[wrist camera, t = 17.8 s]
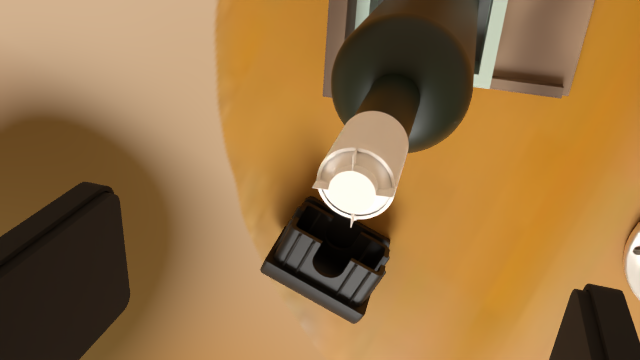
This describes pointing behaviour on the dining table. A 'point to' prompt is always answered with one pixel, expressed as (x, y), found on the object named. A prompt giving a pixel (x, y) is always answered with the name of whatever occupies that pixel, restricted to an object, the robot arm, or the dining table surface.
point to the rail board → (505, 44)
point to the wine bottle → (396, 97)
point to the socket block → (486, 40)
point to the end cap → (329, 259)
